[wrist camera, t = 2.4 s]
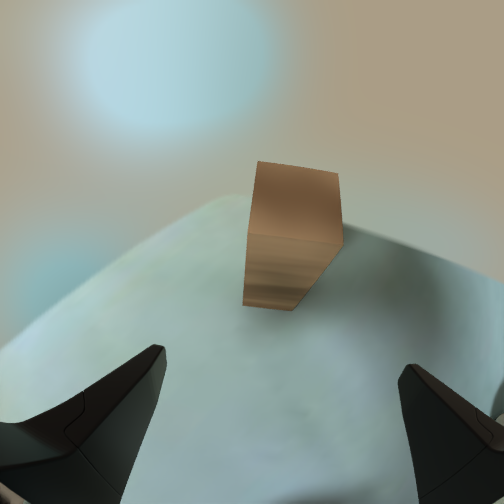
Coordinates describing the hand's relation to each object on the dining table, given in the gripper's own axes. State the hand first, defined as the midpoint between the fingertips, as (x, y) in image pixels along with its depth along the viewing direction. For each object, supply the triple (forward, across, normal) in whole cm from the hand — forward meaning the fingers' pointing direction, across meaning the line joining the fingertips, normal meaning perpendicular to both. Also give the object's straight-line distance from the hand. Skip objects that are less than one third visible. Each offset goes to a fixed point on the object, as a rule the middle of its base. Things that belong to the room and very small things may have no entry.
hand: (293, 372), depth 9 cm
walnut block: (+16, 0, +5) cm, 16 cm away
